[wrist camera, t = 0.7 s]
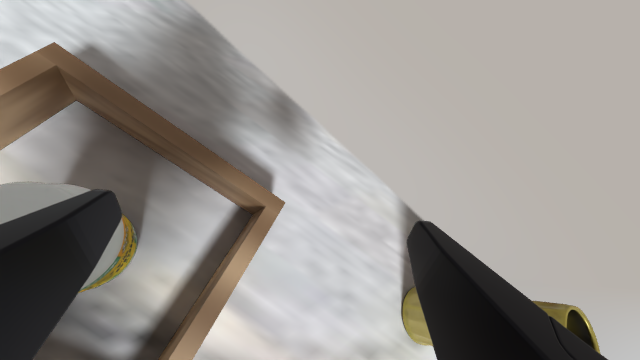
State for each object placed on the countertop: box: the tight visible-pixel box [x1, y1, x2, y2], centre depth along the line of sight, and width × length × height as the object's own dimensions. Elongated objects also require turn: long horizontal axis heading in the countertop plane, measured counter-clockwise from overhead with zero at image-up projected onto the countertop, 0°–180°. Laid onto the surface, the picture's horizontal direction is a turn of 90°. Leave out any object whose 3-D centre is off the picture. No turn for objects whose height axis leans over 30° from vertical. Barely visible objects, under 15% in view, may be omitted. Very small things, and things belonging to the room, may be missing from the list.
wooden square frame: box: [0, 42, 285, 360], centre depth 15 cm, size 18×18×4 cm
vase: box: [403, 287, 600, 353], centre depth 23 cm, size 6×6×14 cm
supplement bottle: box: [0, 182, 137, 292], centre depth 13 cm, size 5×5×10 cm
